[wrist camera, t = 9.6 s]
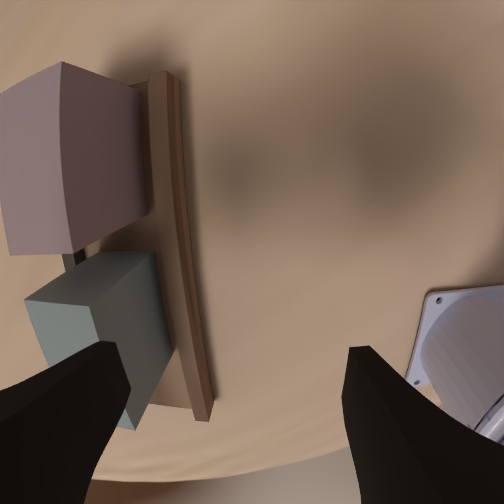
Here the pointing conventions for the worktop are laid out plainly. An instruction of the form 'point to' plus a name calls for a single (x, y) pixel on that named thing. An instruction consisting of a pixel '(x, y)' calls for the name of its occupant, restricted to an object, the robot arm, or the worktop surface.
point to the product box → (108, 319)
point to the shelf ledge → (166, 246)
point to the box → (69, 160)
